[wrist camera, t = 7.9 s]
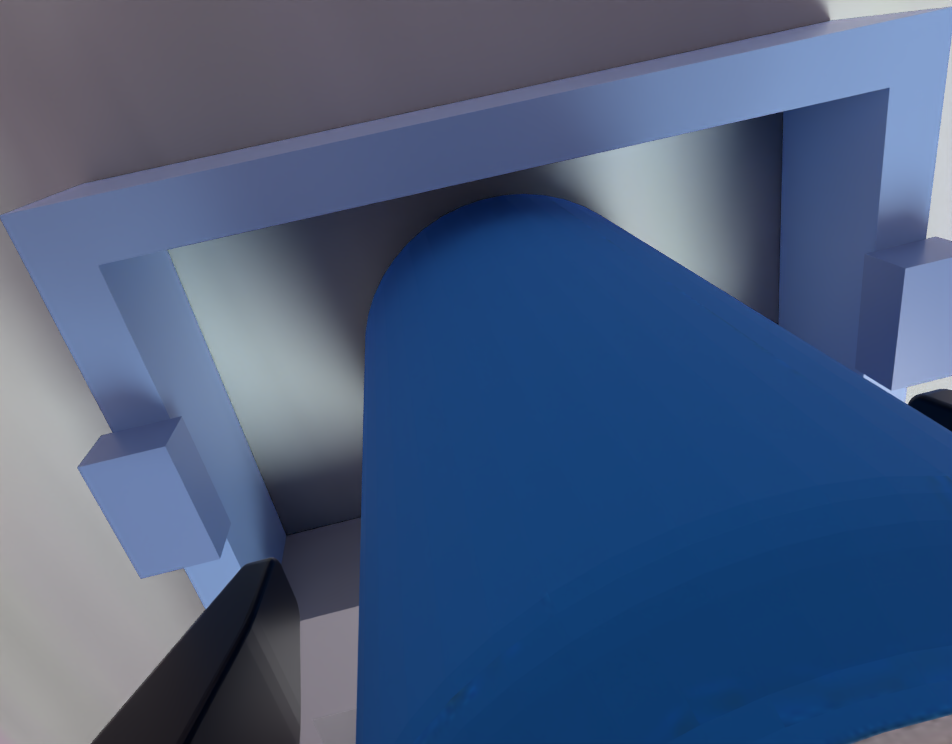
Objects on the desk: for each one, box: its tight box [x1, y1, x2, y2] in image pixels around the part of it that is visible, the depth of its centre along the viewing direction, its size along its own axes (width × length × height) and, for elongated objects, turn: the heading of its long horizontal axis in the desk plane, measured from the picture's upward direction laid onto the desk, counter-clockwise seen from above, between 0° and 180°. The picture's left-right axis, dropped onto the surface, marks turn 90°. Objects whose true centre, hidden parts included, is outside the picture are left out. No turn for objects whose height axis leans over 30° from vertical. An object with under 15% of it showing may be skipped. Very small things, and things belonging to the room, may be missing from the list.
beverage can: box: [356, 194, 952, 744], centre depth 9 cm, size 6×6×12 cm
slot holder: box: [0, 7, 952, 744], centre depth 15 cm, size 21×15×4 cm
